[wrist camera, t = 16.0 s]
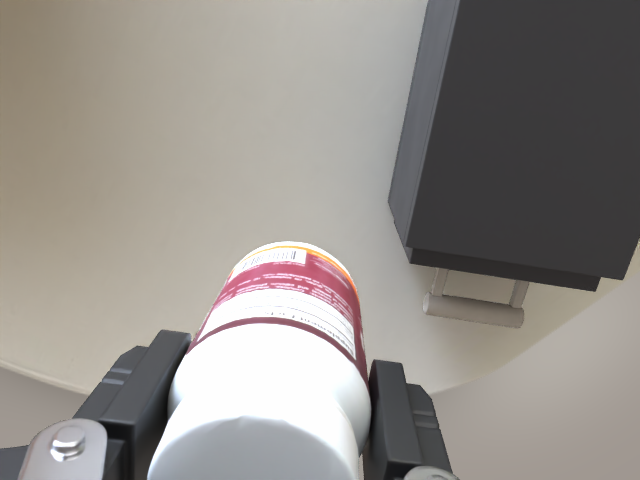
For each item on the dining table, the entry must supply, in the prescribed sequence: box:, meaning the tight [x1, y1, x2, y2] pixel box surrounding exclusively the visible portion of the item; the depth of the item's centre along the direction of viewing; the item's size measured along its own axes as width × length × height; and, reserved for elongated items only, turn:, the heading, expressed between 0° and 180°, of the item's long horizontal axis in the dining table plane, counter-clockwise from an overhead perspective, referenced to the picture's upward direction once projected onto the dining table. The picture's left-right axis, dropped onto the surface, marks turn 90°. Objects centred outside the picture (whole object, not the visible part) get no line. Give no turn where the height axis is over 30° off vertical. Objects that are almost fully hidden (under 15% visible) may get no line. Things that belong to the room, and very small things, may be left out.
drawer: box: [394, 220, 601, 328], centre depth 29 cm, size 17×10×8 cm, turn 171°
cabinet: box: [388, 0, 640, 280], centre depth 27 cm, size 14×12×10 cm
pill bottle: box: [147, 242, 372, 480], centre depth 13 cm, size 5×5×8 cm
